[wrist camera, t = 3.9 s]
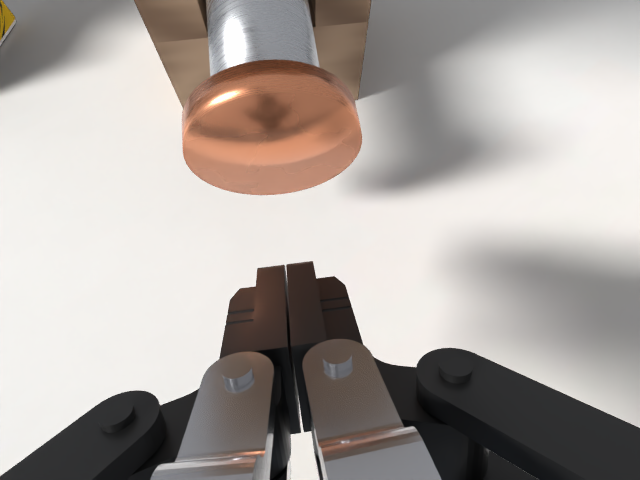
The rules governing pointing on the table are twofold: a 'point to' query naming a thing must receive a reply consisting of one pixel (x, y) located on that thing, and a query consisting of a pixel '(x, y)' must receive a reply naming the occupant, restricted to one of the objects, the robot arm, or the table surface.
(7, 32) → the medicine bottle
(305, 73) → the pin
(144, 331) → the table surface
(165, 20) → the post
